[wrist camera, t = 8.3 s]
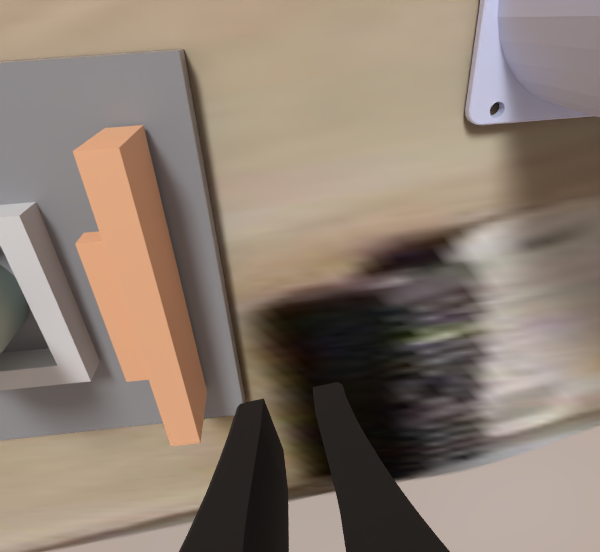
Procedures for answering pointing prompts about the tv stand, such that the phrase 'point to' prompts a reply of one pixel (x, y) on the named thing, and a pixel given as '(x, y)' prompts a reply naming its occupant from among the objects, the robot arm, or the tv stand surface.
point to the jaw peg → (10, 307)
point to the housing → (80, 219)
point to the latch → (140, 278)
